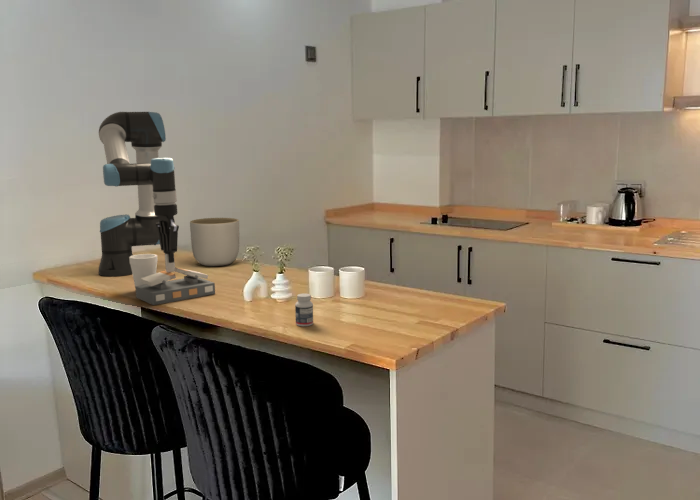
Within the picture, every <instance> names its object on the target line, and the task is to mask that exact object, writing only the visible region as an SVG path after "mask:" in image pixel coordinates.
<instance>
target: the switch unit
mask: <svg viewBox="0 0 700 500" xmlns="http://www.w3.org/2000/svg"><path fill="white" fill-rule="evenodd" d="M134 288H135V298H136V299H139V300H141V301H142V302H145V303H147V304H149V305H152V306H156V305H161V304H162V305H163V304H168V303H172V302H179V301H184V300H189V299H196V298H199V297H200V298H201V297H207V296H211V295H215V294H216V283H215V282H213V281H210V280H208V279H205V278H200V277H198V278H197V279H196V278H193V277H190V276H187V275H184V276H183V278H179V279H171V280H168V281H166V283H165V284H163V283H160V284H157V285H154V286H149V285H147V284H146V285H140V286H135V285H134Z"/></svg>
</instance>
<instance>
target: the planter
mask: <svg viewBox="0 0 700 500" xmlns="http://www.w3.org/2000/svg"><path fill="white" fill-rule="evenodd" d="M189 230H190V242H191V251H192V256H193V257H194V259H195V261H196V262H197V263H198V264H200V265H201V266H206V267H223V266H228V265H231V264H233V262H234V261H236V259H237V258H238V256H239V253H240V219H238V218H232V217H208V218H207V217H206V218H205V217H204V218H196V219H192V220H190V221H189Z"/></svg>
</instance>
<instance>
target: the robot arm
mask: <svg viewBox="0 0 700 500" xmlns="http://www.w3.org/2000/svg"><path fill="white" fill-rule="evenodd" d="M98 138H99V140H100V142H101V143H102V144H103V148H104V149H103V150H104V154H105V159H106V164H103V166H102V175H103V176H102V178H103V183H104V185H105V186H107V187H126V186H127V187H129V186H137V195H138V196H137V198H138V210H136V212H135V213H134V214H135V217H131V216H130V215H129V214H118V215H112V216H109V217H108V216H107V217H104V218H102V219H101V220H100V222H99V233H100V243H101V245H100V246H101V258H100V261H99V266H98V275H100V276H101V277H102V276H103V277H123V276H129V275H133V274H132V269H131V265H130V260H129V257H130V256H133V255H134V254H133V247H140V246H142V247H143V246H157V245H160V246H159V247H160V251H163V253H164V262H165V263H164V264H165V271H166V272H171V273H174V272H175V267H176V264H175V263H176V262H175V253H177V252H178V237H179V236H178V235H179V234H178V232H179V227H180V226H179V224H176V223H175V217H174V216H177V215H178V204H177V203H176V202H177V201H178V200H177V190H176V179H175V178H176V177H175V175H176V174H175V170H176V169H175V164H174V159H173V158H171V157H159V150H160V149H161V148H162V147H163V143H164V142H166V141H167V140H166V139H167V138H166V129H165V125H164V120H163V118H162V115H161V114H160V113H159V112H158V111H157V112H155V111H117V112H114V113H111V114H110V115H108V116H107V117H105V118H104V120H103V121H102V123H100V125H99V127H98ZM126 143H131V144H130V145H131V148H133V150H135V158H136V162H135V163H131V162H130V157H129V154H128V153H129V152H128V149H127V146H126Z"/></svg>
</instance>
